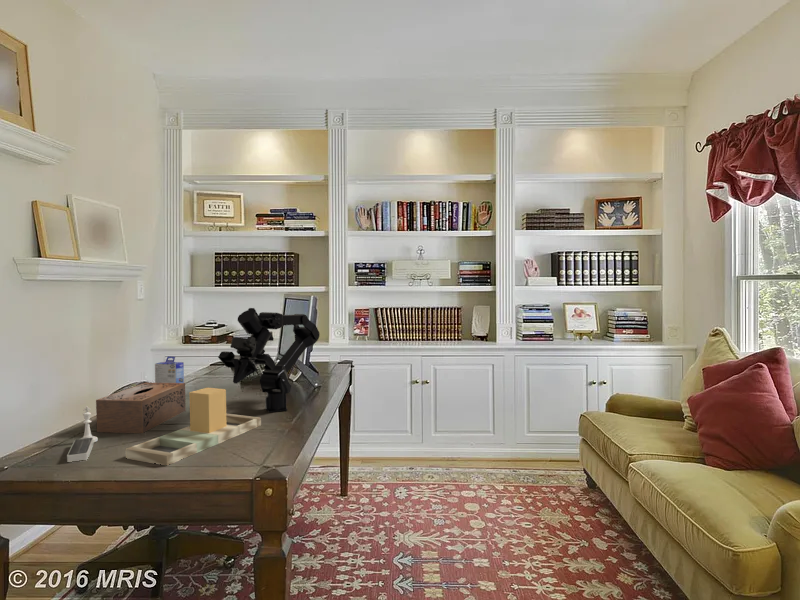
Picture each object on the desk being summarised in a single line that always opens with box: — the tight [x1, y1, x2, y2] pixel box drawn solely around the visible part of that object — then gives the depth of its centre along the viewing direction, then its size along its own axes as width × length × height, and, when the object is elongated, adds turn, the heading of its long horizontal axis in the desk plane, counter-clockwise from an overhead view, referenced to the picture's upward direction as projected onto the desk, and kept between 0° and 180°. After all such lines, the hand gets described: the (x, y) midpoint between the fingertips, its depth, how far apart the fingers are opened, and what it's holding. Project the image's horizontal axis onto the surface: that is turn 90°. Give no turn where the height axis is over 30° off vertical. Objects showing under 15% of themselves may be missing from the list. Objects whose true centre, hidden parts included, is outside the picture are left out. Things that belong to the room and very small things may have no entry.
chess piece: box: [79, 405, 99, 443], centre depth 147 cm, size 5×5×10 cm
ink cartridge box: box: [154, 356, 185, 383], centre depth 209 cm, size 10×6×14 cm, turn 78°
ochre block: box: [188, 387, 227, 433], centre depth 151 cm, size 7×7×11 cm
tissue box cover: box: [95, 382, 187, 434], centre depth 169 cm, size 26×14×10 cm, turn 175°
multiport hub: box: [66, 438, 94, 463], centre depth 138 cm, size 4×14×2 cm, turn 25°
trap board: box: [125, 413, 262, 466], centre depth 148 cm, size 37×14×2 cm, turn 158°
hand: (234, 382), depth 161 cm, fingers closed
